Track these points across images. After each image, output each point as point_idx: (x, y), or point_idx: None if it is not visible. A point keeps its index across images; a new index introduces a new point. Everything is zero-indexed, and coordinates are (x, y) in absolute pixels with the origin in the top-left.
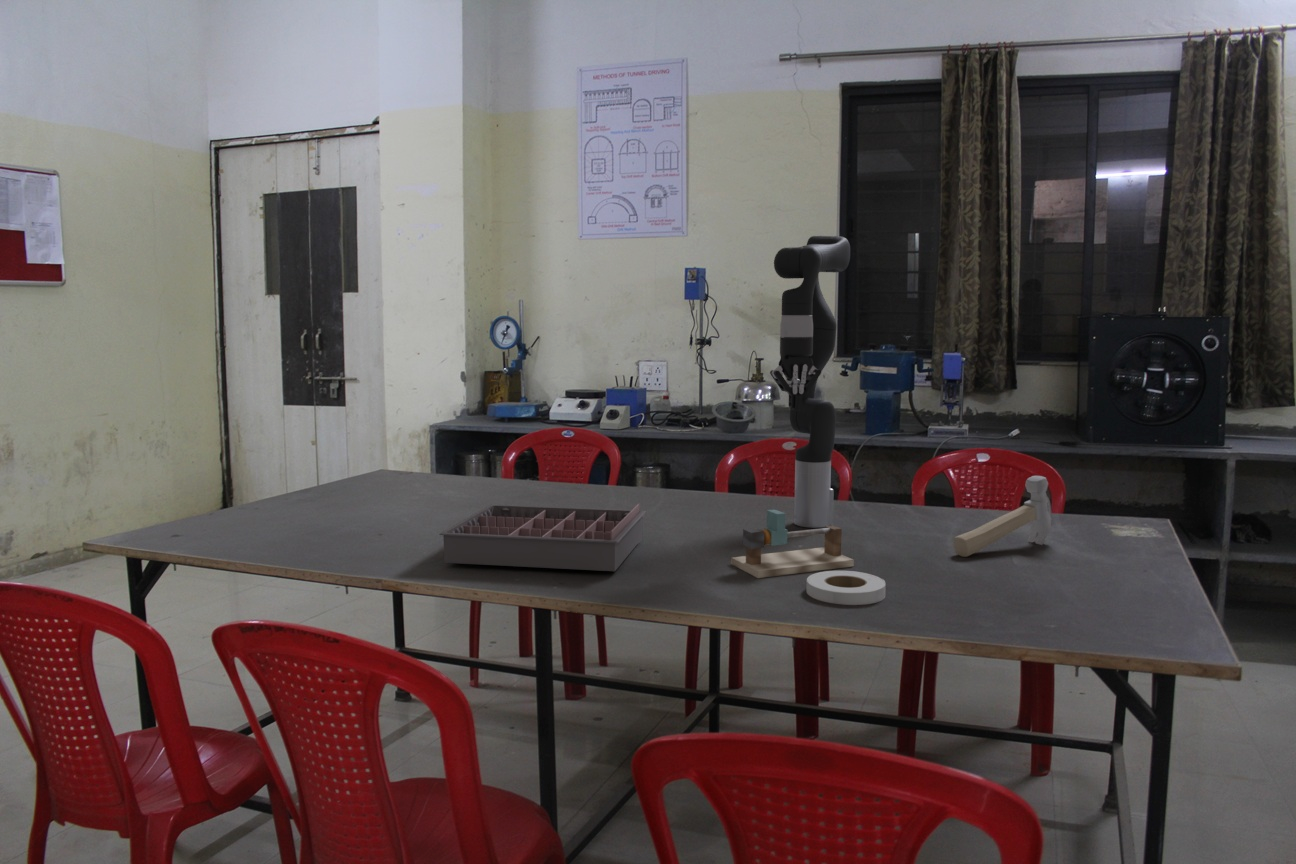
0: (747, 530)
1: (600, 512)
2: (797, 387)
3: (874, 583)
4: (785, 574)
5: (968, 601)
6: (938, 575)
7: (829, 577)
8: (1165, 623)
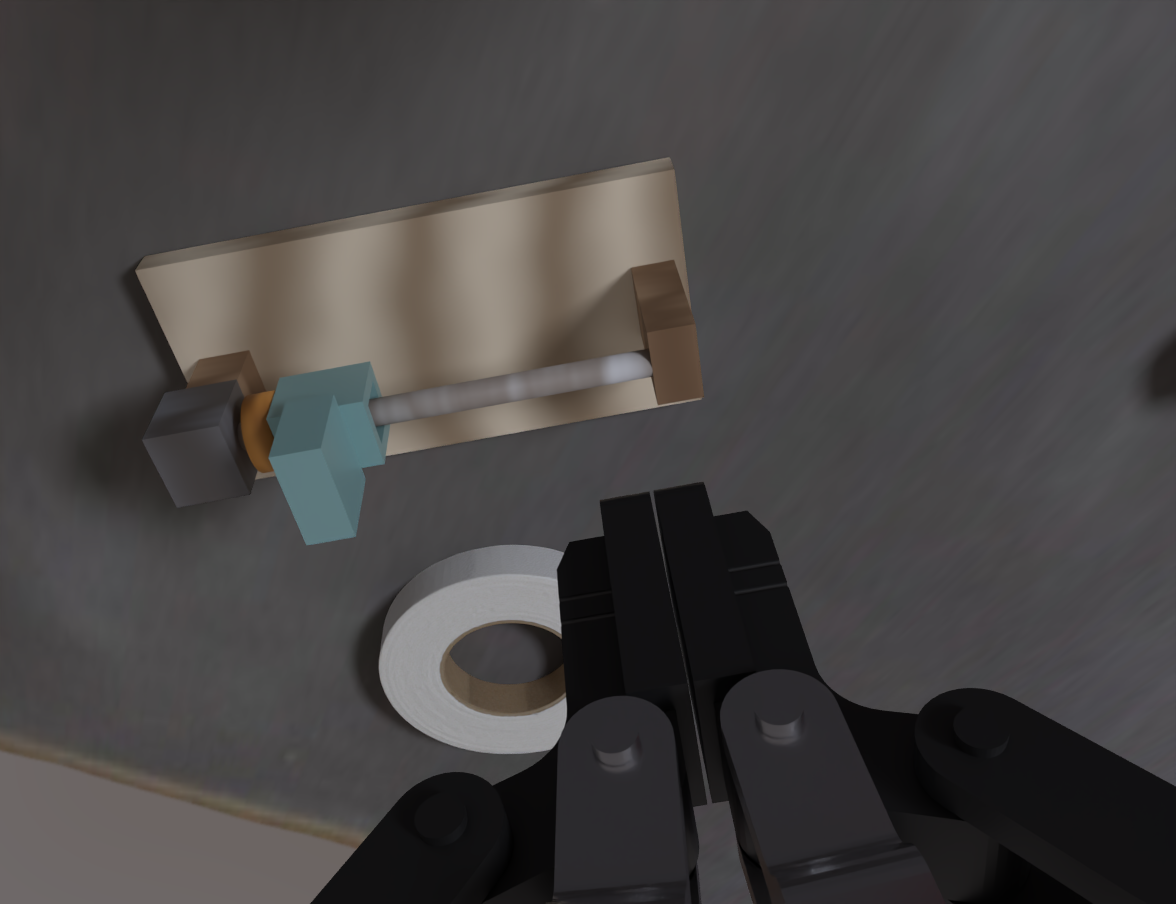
0: (162, 467)
1: None
2: (812, 807)
3: None
4: None
5: None
6: (930, 531)
7: (474, 629)
8: None
